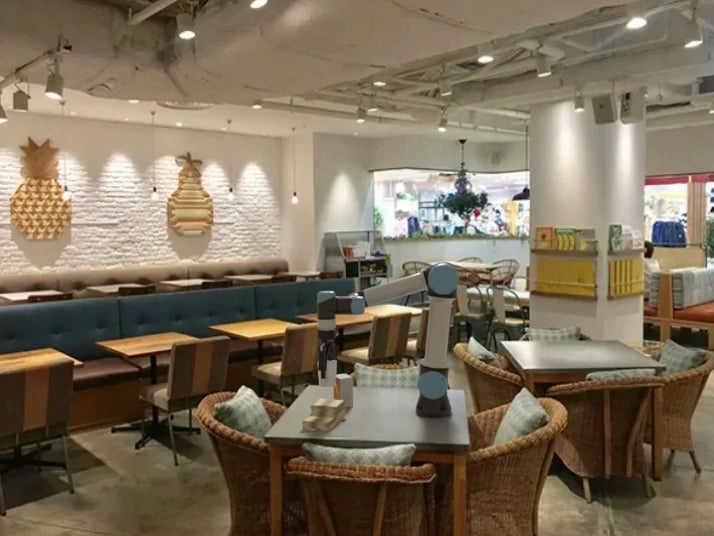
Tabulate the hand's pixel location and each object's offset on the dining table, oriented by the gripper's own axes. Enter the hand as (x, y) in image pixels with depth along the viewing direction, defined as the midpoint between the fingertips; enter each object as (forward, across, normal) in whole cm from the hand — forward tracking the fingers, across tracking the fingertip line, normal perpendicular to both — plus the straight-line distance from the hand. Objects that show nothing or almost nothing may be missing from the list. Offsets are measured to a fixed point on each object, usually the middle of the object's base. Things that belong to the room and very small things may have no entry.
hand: (327, 383), depth 268 cm
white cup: (+1, 0, 0) cm, 1 cm away
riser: (+15, +5, 0) cm, 16 cm away
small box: (+15, -22, 0) cm, 27 cm away
